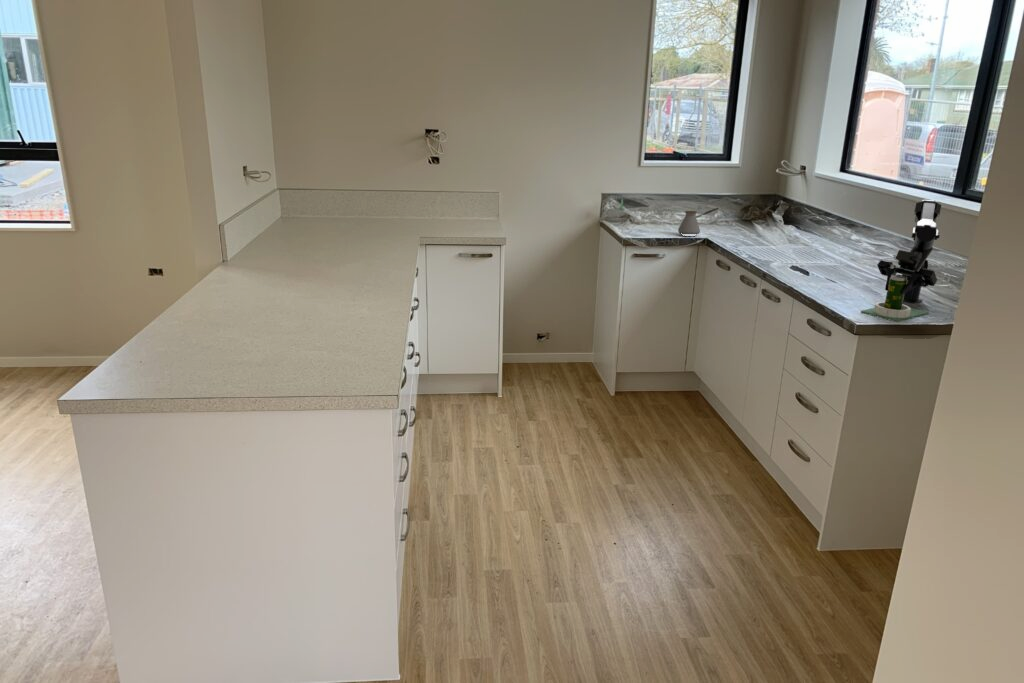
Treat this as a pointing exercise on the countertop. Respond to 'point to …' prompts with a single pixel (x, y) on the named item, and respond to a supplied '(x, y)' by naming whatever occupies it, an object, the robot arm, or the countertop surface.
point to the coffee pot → (691, 222)
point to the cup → (892, 311)
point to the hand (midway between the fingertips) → (893, 291)
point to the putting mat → (912, 314)
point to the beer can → (895, 292)
